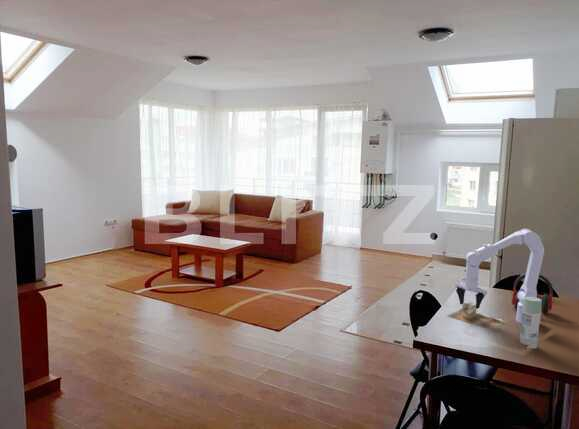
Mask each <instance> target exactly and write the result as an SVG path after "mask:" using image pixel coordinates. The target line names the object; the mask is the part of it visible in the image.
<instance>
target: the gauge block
mask: <svg viewBox="0 0 579 429" xmlns="http://www.w3.org/2000/svg"><path fill="white" fill-rule="evenodd" d="M461 306H462V307H461V309H462V317H465V318H468V319H471V318H473V317H475V316H476V313H477V309H476V302H471V301H466V302H464V303H463V304H462V305H461Z"/></svg>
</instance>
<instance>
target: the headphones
mask: <svg viewBox="0 0 579 429" xmlns="http://www.w3.org/2000/svg"><path fill="white" fill-rule="evenodd" d="M525 276H526V272H524V273H522V274H521V275H519V276H518V277H516V279H515V281H514V283H513V292H512V295H511V304H512V305H513V306H514V309H515V310H516V311H517V305H518V302H519V300H518V298H517V293H518V292H519V291H520V289H517V286H518V284H519V283H520V281H522V280H524V278H525ZM538 279H541V280H543V281H544V282H545V283H546V284H547V287H548V288H549V293H544V294H543V295H542V298H541V300H542V304H541V314H543V315H547V314H548V313H549V311H552V309H553V292H554V289H553V288H554V287H553V285H552V283H551V281H550V279H549V278H548V277H546V276H545V275H544V274H542V273H541V272H540V273H539V277H538Z"/></svg>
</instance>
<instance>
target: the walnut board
mask: <svg viewBox="0 0 579 429" xmlns="http://www.w3.org/2000/svg"><path fill="white" fill-rule="evenodd" d="M446 317H448V318H451V319H455V320H459V321H462V322H465V323H467V324H471V325H475V326H478V327H482V328H484V329H488V330H491V331H495V330H496V329H498V328H500V327H502V326H503V325H505V324H507V323H509V321H508V320H504V319H501V318H497V317H494V316H490V315H486V314H482V313H479V312H476V316H475V317H473V318H471V319H468V318H465V317H462V308H459V310H456V311H454V312H452V313H450V314H448V315H446Z"/></svg>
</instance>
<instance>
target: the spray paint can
mask: <svg viewBox="0 0 579 429" xmlns="http://www.w3.org/2000/svg"><path fill="white" fill-rule="evenodd" d="M541 306H542V298H539V297H531V296H526V297H524V299H523V310H522V321H521V323H520V332H519V333H520V334H519V335H520V336H519V342H520V343H521V344H522V345H525V346H526V347H525V349H526V350H527V349H528V350H536V349H537V347H538V340H539V339H538V338H539V332H540V331H539V329H540V324H539V322H540V323H541V319H540V313H541V314H542V310H541Z"/></svg>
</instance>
